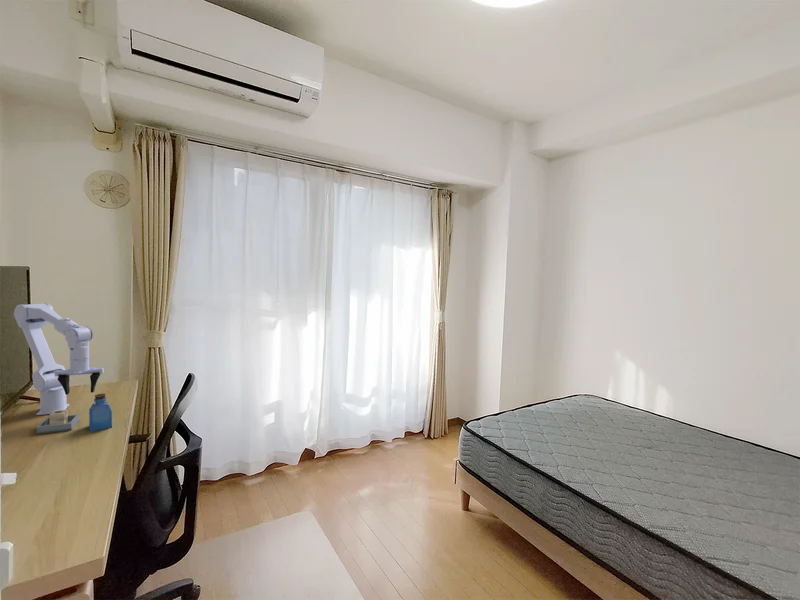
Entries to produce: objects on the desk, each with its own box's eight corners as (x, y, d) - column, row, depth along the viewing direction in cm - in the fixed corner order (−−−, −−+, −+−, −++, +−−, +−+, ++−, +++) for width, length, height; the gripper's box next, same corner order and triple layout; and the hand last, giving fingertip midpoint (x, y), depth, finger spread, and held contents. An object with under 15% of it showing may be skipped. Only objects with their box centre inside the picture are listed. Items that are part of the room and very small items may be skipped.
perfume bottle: (90, 431, 135) (89, 399, 134) (89, 425, 140) (89, 394, 139) (111, 427, 139) (111, 395, 138) (110, 422, 144) (110, 391, 143)
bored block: (53, 424, 138) (53, 410, 138) (67, 422, 140) (67, 409, 140) (49, 428, 135) (49, 414, 134) (64, 426, 136) (63, 413, 136)
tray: (46, 424, 139) (46, 417, 139) (79, 420, 144) (79, 414, 143) (36, 434, 131) (36, 427, 131) (71, 430, 135) (71, 423, 135)
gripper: (51, 362, 139) (52, 398, 140) (100, 359, 146) (101, 393, 147) (57, 357, 145) (58, 392, 146) (104, 355, 152) (105, 388, 153)
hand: (80, 392), depth 147 cm, fingers open, 7 cm apart
